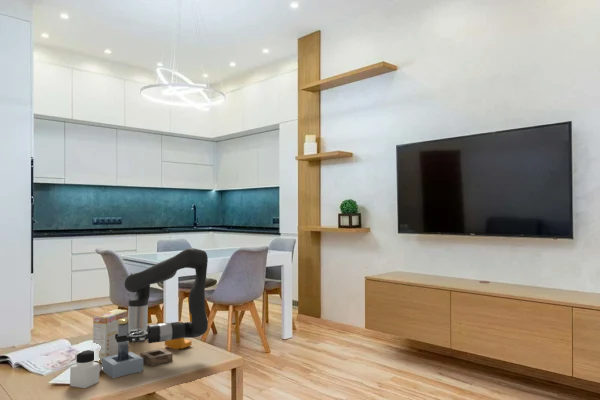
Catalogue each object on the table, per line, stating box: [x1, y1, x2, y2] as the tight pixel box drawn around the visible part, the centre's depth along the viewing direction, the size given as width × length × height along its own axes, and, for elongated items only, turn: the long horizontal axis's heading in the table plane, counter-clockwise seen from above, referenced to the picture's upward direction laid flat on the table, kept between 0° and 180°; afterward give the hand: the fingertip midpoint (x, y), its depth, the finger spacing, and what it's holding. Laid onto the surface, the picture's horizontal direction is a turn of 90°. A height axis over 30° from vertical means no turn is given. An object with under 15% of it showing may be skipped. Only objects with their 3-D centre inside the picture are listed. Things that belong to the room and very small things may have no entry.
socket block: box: [139, 348, 174, 366], centre depth 194 cm, size 10×10×3 cm
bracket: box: [164, 320, 192, 350], centre depth 214 cm, size 11×7×12 cm, turn 62°
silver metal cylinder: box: [118, 319, 130, 361], centre depth 181 cm, size 4×4×16 cm
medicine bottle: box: [69, 349, 100, 389], centre depth 166 cm, size 7×7×12 cm
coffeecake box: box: [92, 308, 128, 363], centre depth 198 cm, size 15×7×20 cm, turn 164°
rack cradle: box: [101, 351, 144, 379], centre depth 180 cm, size 12×12×5 cm
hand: (116, 338), depth 179 cm, fingers closed on silver metal cylinder, 4 cm apart
